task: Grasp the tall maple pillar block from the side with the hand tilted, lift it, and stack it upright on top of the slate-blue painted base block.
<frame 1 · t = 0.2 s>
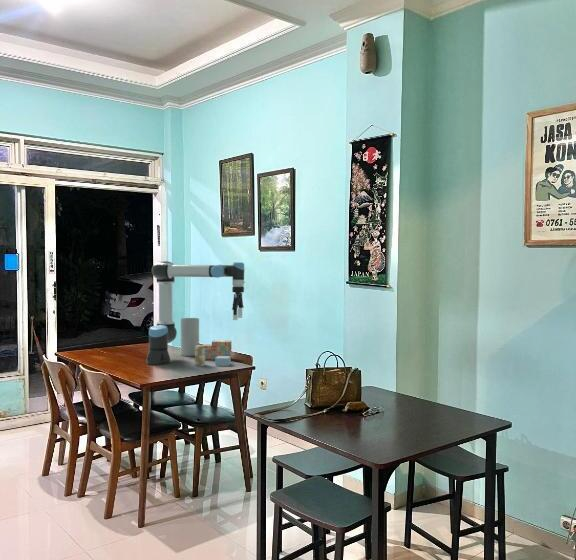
hand: (237, 318, 375), 28 cm above the table, tool pointing down, fingers open, 13 cm apart
pillar: (199, 364, 363), on the table
base block: (222, 365, 364), on the table
cylinder vase: (189, 355, 401), on the table
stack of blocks: (214, 359, 385), on the table
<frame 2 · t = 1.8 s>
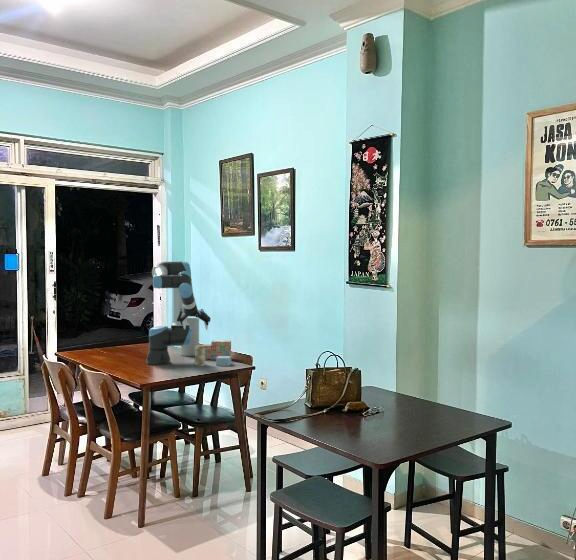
hand: (196, 327, 352), 25 cm above the table, tool tilted 45°, fingers open, 13 cm apart
nothing on the table moved.
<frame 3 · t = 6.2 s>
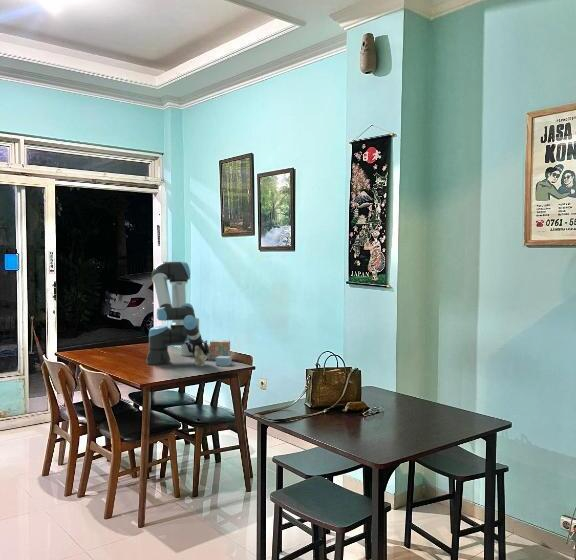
hand: (201, 357, 366), 4 cm above the table, tool tilted 45°, fingers closed on pillar, 5 cm apart
pillar: (199, 364, 363), on the table, touching gripper
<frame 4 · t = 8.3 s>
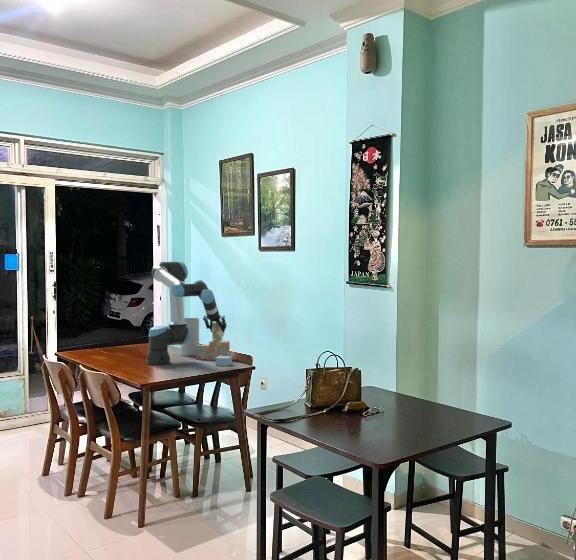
hand: (219, 334, 365), 19 cm above the table, tool tilted 45°, fingers closed on pillar, 5 cm apart
pillar: (217, 341, 362), point 15 cm above the table, touching gripper
when the fingers open (10 cm above the table, at t = 10.3 s): pillar drops 1 cm, resting on base block.
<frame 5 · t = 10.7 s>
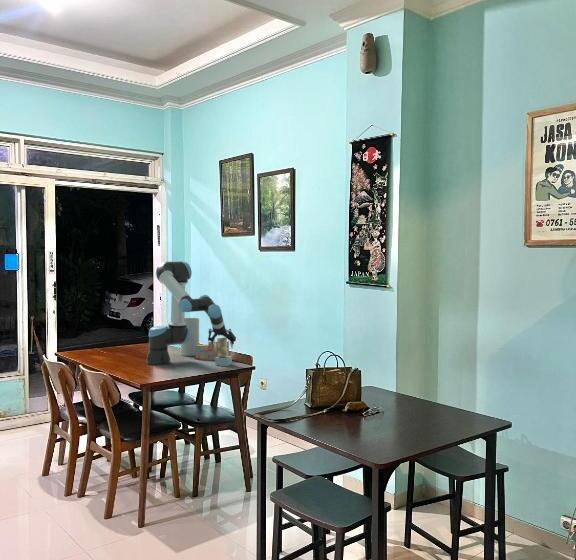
hand: (223, 346, 367), 11 cm above the table, tool tilted 45°, fingers open, 10 cm apart
pillar: (223, 356, 364), point 5 cm above the table, touching base block
base block: (223, 364, 365), on the table, touching pillar
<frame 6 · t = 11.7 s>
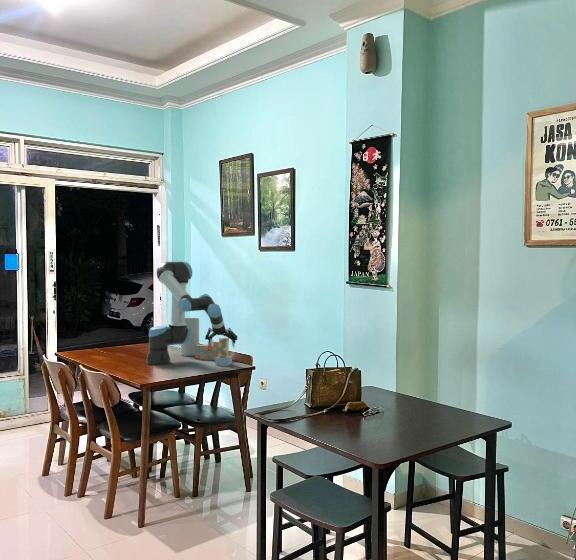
hand: (223, 345, 364), 12 cm above the table, tool tilted 45°, fingers open, 13 cm apart
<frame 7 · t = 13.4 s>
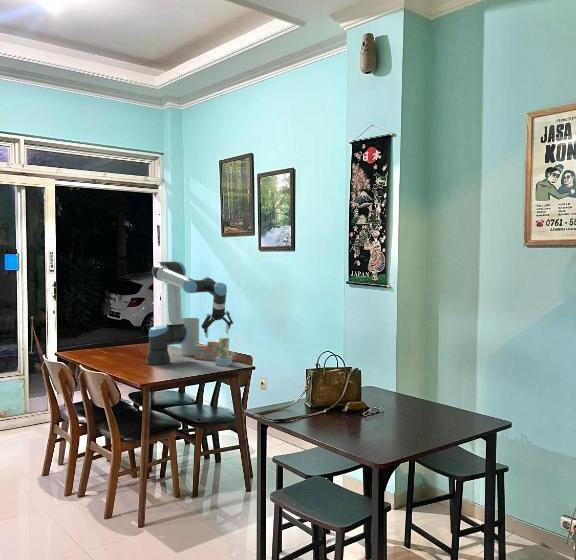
hand: (216, 334, 363), 19 cm above the table, tool tilted 30°, fingers open, 13 cm apart
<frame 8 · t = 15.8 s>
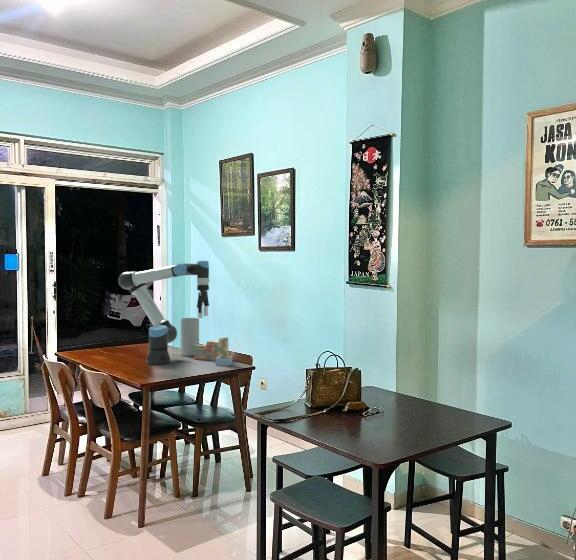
hand: (203, 316, 377), 29 cm above the table, tool pointing down, fingers open, 13 cm apart
at the end: pillar 0.2 cm off-centre on the base block, point 5.1 cm above the base block's base; pillar tilted 2°; the gripper is holding nothing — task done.
